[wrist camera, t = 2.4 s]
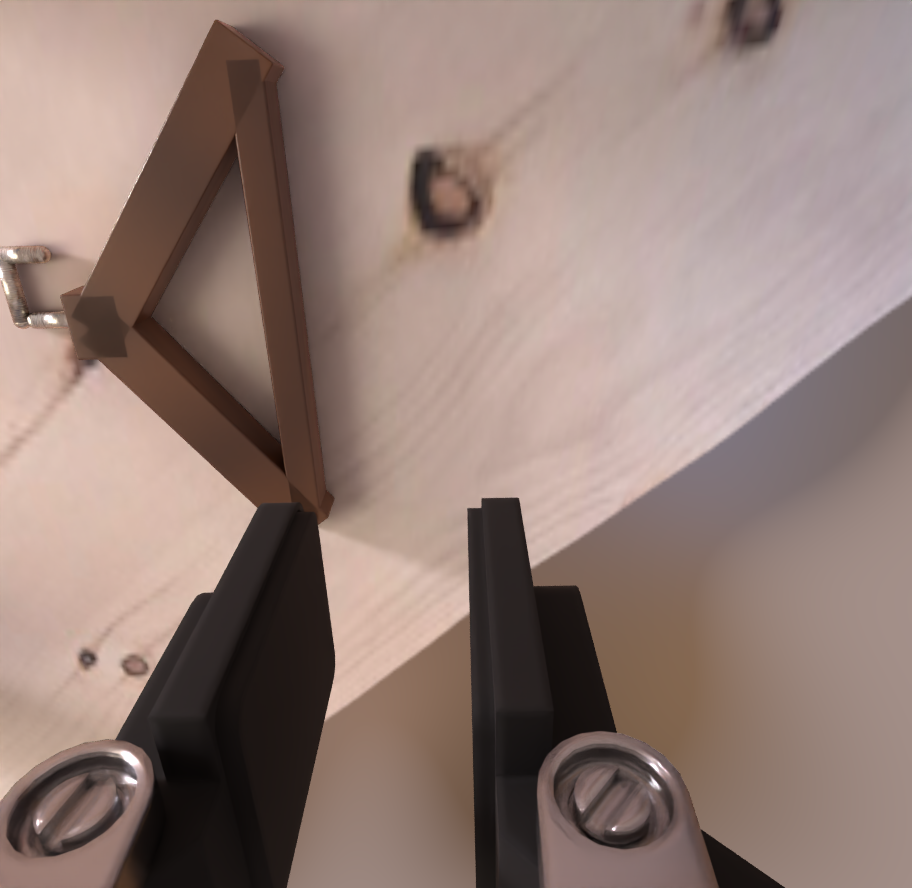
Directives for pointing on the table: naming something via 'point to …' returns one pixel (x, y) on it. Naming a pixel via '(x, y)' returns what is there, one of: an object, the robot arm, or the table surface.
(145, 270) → the hanger
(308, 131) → the table surface
